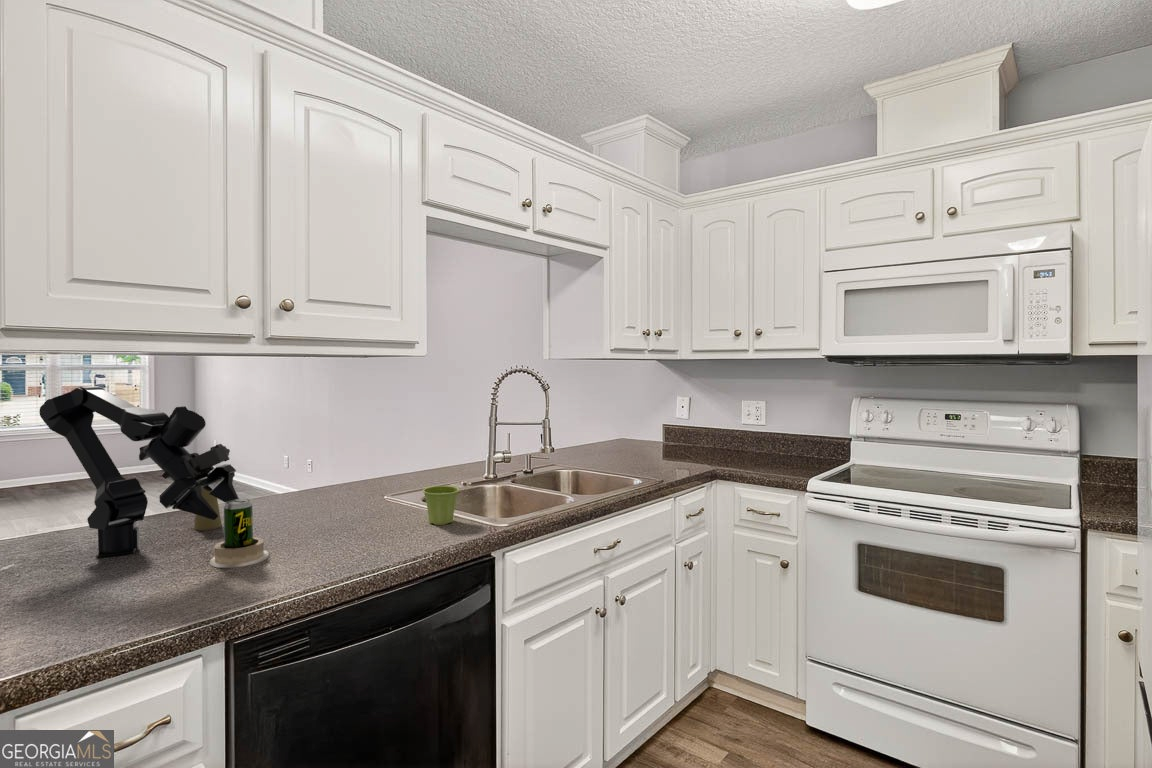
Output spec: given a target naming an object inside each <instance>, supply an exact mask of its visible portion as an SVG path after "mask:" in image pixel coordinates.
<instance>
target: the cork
mask: <svg viewBox="0 0 1152 768" xmlns="http://www.w3.org/2000/svg"><path fill="white" fill-rule="evenodd" d="M201 492H202V496H203V497H204V499H205V500H206V501H207V502H208V503H209V505H210V506H211V507H212V508H213V509H214V511H215V512H216V513H217V515H218V518H217V519H215V520H212V519H209V518H206V517H203V516H199V515H196V514H195V519H194V526H193V530H195V531H210V530H216V529H218V528H222V526H223V524H222V519H221V513H220V507H219V501H218V500H219V499H218V498H216V497H214V496H212V495H210V494H209V493H210V492H211V491H207V490H205V489H204V488H203V487H202V488H201Z"/></svg>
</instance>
